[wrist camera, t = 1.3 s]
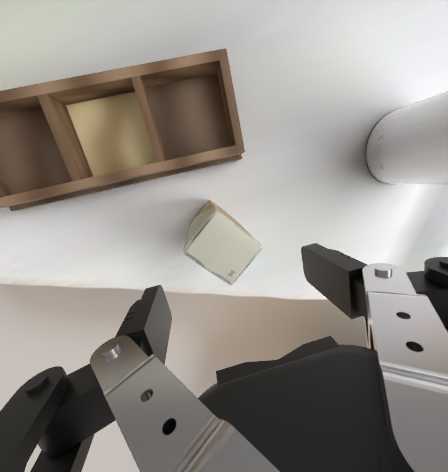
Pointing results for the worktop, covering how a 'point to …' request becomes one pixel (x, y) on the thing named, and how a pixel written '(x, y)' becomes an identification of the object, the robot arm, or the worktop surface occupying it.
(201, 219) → the box
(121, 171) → the tray
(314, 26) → the worktop surface
